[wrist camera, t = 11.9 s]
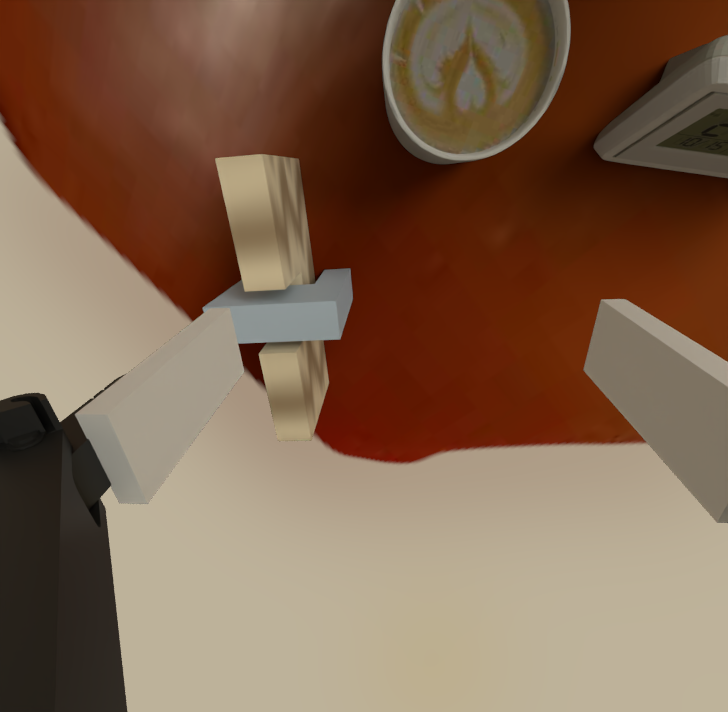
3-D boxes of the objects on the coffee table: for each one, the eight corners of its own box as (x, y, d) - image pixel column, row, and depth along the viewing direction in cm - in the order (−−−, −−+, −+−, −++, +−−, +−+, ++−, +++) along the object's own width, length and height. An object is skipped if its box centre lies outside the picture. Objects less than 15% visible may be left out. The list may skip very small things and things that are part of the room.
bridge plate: (249, 274, 37) (202, 307, 28) (350, 268, 36) (335, 300, 27) (255, 303, 38) (212, 344, 29) (352, 298, 37) (340, 339, 28)
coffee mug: (460, 188, 32) (486, 195, 23) (361, 118, 30) (348, 96, 21) (578, 12, 26) (673, -68, 18) (466, -86, 25) (507, -232, 16)
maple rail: (264, 161, 32) (215, 158, 23) (298, 158, 32) (262, 154, 23) (302, 383, 42) (277, 441, 33) (329, 382, 41) (311, 440, 32)
